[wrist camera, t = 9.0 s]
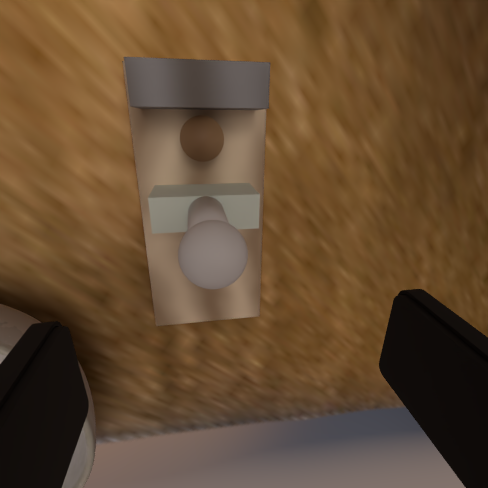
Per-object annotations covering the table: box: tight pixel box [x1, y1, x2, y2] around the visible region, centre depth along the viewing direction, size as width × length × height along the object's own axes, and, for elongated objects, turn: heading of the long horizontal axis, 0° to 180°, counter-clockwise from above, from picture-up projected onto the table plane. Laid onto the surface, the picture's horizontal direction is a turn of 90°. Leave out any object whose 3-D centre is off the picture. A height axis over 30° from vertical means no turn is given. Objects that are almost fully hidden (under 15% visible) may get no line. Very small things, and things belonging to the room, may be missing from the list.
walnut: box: [180, 115, 224, 162], centre depth 26 cm, size 4×4×3 cm
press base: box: [122, 57, 270, 326], centre depth 29 cm, size 12×26×7 cm, turn 179°
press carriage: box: [148, 183, 260, 289], centre depth 22 cm, size 9×4×15 cm, turn 89°
